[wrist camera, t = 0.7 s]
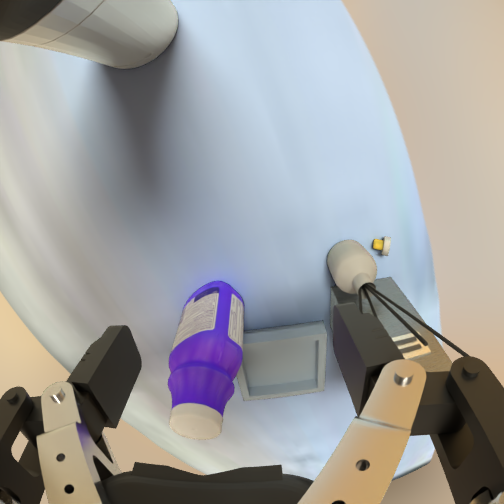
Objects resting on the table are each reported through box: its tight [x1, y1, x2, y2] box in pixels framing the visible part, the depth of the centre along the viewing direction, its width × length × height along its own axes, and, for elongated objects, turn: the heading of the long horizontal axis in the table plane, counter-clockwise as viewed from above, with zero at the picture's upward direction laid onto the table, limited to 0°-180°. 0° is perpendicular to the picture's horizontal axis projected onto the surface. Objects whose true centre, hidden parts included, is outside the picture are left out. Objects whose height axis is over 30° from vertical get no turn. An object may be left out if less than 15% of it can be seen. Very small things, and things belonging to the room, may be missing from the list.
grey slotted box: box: [330, 277, 453, 372], centre depth 27 cm, size 7×8×18 cm
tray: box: [237, 320, 327, 401], centre depth 38 cm, size 12×12×2 cm
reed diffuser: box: [327, 236, 470, 357], centre depth 23 cm, size 10×7×20 cm
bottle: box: [168, 281, 244, 440], centre depth 27 cm, size 7×6×17 cm
